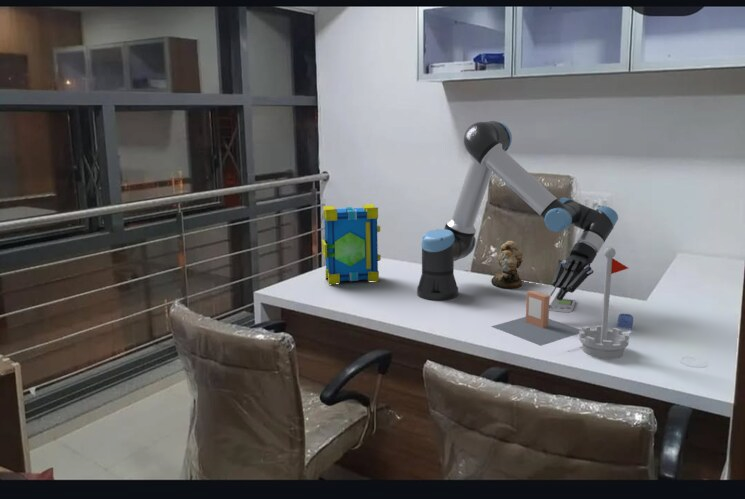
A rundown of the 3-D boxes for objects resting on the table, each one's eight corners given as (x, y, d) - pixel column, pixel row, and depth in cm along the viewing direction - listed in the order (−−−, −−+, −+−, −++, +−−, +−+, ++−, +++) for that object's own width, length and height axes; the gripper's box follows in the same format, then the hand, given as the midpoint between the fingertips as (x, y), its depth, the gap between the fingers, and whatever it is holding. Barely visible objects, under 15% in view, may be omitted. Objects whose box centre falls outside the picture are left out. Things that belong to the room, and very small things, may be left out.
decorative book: (322, 277, 257) (320, 205, 251) (377, 274, 261) (376, 203, 255) (326, 287, 244) (323, 211, 237) (384, 283, 248) (383, 208, 241)
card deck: (525, 321, 199) (526, 291, 197) (530, 320, 201) (532, 290, 199) (542, 328, 194) (544, 297, 192) (548, 326, 195) (549, 295, 193)
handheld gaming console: (540, 308, 211) (546, 296, 225) (540, 312, 211) (546, 300, 225) (571, 311, 207) (575, 299, 221) (571, 316, 208) (575, 303, 221)
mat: (490, 328, 196) (490, 326, 196) (534, 315, 207) (534, 314, 207) (540, 347, 180) (540, 345, 180) (585, 333, 191) (585, 331, 191)
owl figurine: (489, 276, 255) (490, 235, 252) (518, 277, 254) (520, 236, 251) (493, 289, 238) (495, 245, 234) (525, 289, 237) (527, 245, 233)
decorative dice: (630, 330, 192) (631, 318, 192) (617, 328, 194) (618, 316, 193) (632, 326, 196) (633, 314, 195) (619, 324, 198) (620, 312, 197)
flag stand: (572, 354, 175) (578, 249, 168) (585, 339, 185) (592, 240, 179) (621, 363, 168) (630, 255, 161) (632, 348, 178) (640, 245, 172)
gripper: (608, 258, 201) (572, 318, 196) (575, 251, 212) (539, 308, 206) (599, 244, 197) (561, 305, 192) (565, 238, 208) (529, 295, 202)
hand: (550, 306), depth 199 cm, fingers closed
